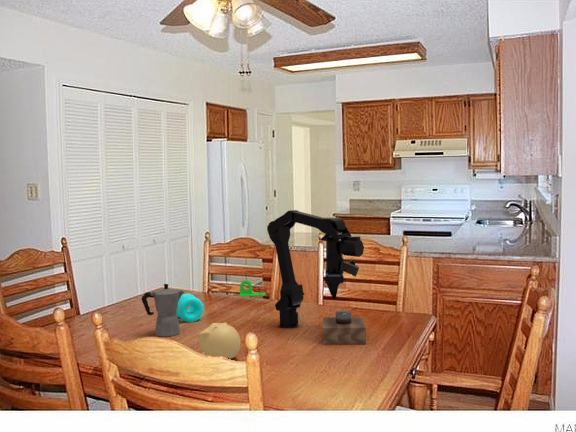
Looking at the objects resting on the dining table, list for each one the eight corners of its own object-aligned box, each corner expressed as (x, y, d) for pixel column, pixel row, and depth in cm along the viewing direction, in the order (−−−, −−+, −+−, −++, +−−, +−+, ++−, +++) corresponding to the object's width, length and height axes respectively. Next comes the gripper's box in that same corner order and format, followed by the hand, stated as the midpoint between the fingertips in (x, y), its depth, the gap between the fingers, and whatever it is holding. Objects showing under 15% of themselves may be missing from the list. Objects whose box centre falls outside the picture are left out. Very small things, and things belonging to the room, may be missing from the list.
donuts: (197, 316, 224) (196, 291, 223) (204, 321, 215) (204, 296, 214) (173, 319, 220) (172, 294, 219) (179, 324, 211) (178, 298, 210)
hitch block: (323, 344, 181) (322, 327, 181) (323, 332, 195) (322, 317, 195) (366, 344, 180) (365, 327, 180) (363, 332, 194) (362, 317, 194)
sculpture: (216, 350, 177) (215, 317, 177) (247, 355, 171) (246, 320, 171) (193, 360, 167) (192, 325, 167) (225, 366, 161) (224, 329, 161)
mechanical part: (239, 299, 255) (238, 282, 255) (240, 297, 261) (240, 280, 261) (264, 299, 255) (264, 282, 255) (265, 296, 261) (265, 279, 261)
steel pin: (336, 339, 185) (335, 314, 184) (335, 334, 190) (335, 310, 190) (352, 338, 185) (351, 313, 184) (351, 334, 190) (351, 310, 189)
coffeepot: (182, 327, 206) (180, 280, 205) (189, 333, 197) (187, 284, 196) (140, 333, 199) (138, 284, 198) (145, 339, 191) (143, 288, 190)
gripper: (359, 258, 181) (358, 305, 182) (356, 250, 199) (356, 293, 200) (324, 258, 182) (324, 304, 183) (325, 250, 200) (325, 293, 201)
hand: (334, 298), depth 192 cm, fingers closed
